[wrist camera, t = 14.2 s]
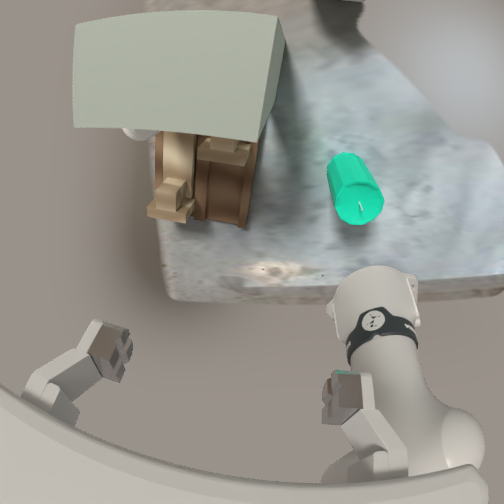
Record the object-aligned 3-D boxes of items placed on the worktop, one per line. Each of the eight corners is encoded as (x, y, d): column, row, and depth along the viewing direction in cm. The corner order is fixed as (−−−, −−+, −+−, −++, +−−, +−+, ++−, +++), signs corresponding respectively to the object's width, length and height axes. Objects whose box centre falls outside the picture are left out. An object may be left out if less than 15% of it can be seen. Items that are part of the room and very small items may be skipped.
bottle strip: (196, 204, 46) (185, 223, 41) (161, 198, 46) (147, 216, 41) (206, 79, 34) (193, 82, 29) (165, 77, 34) (147, 81, 29)
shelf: (274, 101, 36) (256, 142, 19) (168, 90, 36) (73, 127, 19) (285, 40, 31) (277, 16, 14) (174, 32, 31) (75, 24, 14)
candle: (362, 148, 38) (384, 181, 29) (368, 185, 41) (389, 228, 32) (322, 156, 40) (331, 191, 30) (330, 192, 43) (340, 236, 34)
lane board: (246, 222, 48) (245, 228, 47) (160, 207, 49) (156, 212, 47) (276, 39, 31) (275, 38, 29) (167, 32, 31) (162, 31, 30)
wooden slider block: (250, 152, 40) (244, 166, 35) (208, 146, 40) (196, 159, 35) (266, 51, 31) (262, 49, 26) (220, 46, 31) (208, 44, 26)
